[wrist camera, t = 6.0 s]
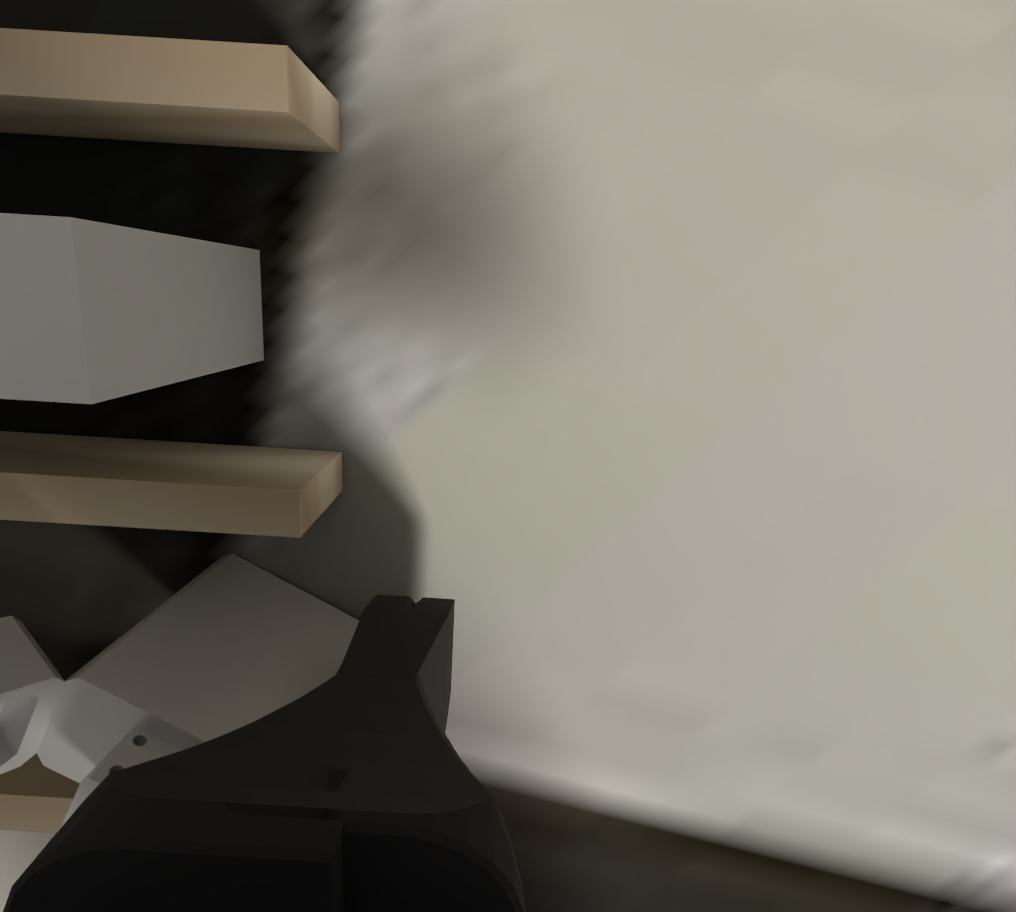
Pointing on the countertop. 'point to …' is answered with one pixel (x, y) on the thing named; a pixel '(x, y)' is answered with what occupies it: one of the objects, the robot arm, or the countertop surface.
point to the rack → (134, 462)
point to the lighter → (169, 675)
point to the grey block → (119, 309)
